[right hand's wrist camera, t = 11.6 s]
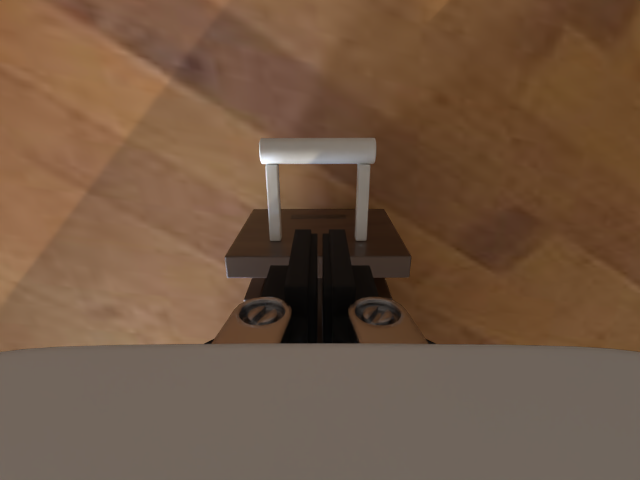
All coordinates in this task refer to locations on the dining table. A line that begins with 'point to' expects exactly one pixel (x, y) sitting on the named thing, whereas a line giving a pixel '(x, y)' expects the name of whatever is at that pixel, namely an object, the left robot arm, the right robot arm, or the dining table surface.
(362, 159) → the drawer
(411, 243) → the dining table surface
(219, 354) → the right robot arm
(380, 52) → the dining table surface
